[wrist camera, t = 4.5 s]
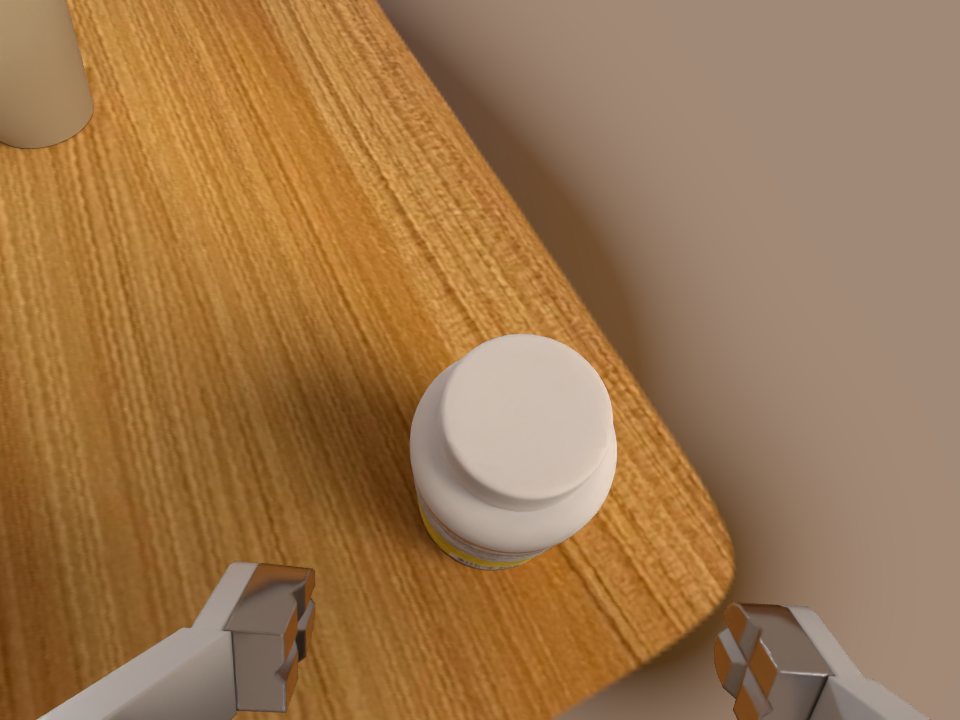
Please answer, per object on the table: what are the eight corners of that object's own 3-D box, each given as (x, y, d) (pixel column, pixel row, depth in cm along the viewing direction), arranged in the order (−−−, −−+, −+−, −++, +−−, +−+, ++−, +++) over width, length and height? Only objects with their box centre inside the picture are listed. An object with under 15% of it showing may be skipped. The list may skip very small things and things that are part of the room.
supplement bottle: (506, 405, 23) (554, 267, 14) (586, 519, 22) (702, 447, 12) (390, 475, 22) (358, 371, 12) (466, 604, 20) (495, 596, 11)
